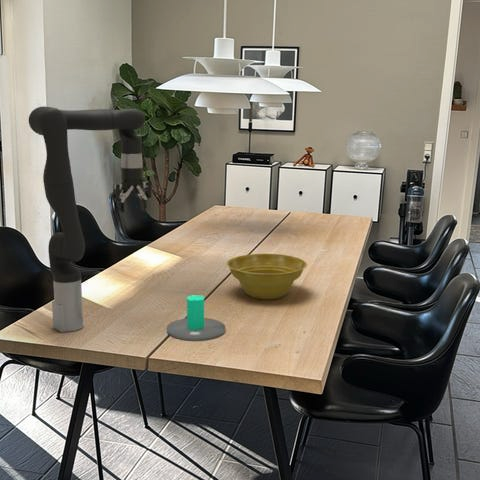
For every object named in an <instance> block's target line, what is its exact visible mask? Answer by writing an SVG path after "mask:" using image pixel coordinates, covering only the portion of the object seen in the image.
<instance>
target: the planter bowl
mask: <svg viewBox="0 0 480 480" xmlns="http://www.w3.org/2000/svg"><path fill="white" fill-rule="evenodd" d="M226 266H227V267H228V268H229V270H230V273H231V275H232V277H234V279H236V280H238V281H239V284H240V286H241V288H242V290H243V291H244V292H245V293H246V294H247V295H248V296H250V297H251V298H254V299H257V300H275V299H280V298H282V297H283V296H285V295H287V293H288V292H289V290H290V289H291V287H292V286H293V284H294V282H295V281H296V280H298V279H299V278H300V277H301V276H302V273H303V271H304V269H306V267H307V266H308V264H307V261H305V260H304V259H302V258H299V257H296V256H292V255H287V254H280V253H250V254H243V255H240V256H239V255H238V256H235V257H232V258H230V259H228V260H227V261H226Z"/></svg>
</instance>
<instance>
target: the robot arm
mask: <svg viewBox="0 0 480 480" xmlns="http://www.w3.org/2000/svg"><path fill="white" fill-rule="evenodd" d="M145 122H146V116H145V114H144V113H143V112H142V111H141V110H139V109H138V108H126V107H125V108H122V109H111V108H104V109H102V108H99V109H98V108H97V109H81V110H80V109H79V110H66V109H64V110H63V109H59V108H56V107H53V106H52V107H51V106H39V107H35V108H34V109H33V110H32V111H31V112H30V114H29V115H28V125H29V128H30V129H31V130H32V132H34V133H36V134H37V135H39V136H42V137H43V140H44V144H45V151H46V159H45V164H44V168H43V174H42V175H43V176H42V179H43V189H44V194H45V199H46V200H47V203H48V204H49V206H50V208H51V209H52V210H53V212H54V213H55V215H56V217H57V218H58V220H59V223H60V225H61V228H62V231H63V232H60V231H59V232H54V233H53V234H52V235H51V237H50V238H49V240H48V241H49V242H48V248H47V249H48V251H47V252H48V261H49V269H50V273H51V275H52V280H53V296H54V297H53V299H54V300H52V301H51V306H52V307H51V308H52V324H53V325H52V326H53V329H55V330H57V331H58V332H59V333H64V332H65V333H66V332H69V333H70V332H75V331H79V330H81V329H83V327H84V316H83V314H84V313H83V293H82V292H83V291H82V272H81V271H80V269H79V268H78V267H77V266H75V265H74V264H73V263H72V262H75V263H77V262H79V261H81V260H82V258H83V257H84V254H85V252H86V251H85V250H86V244H85V238H84V234H83V230H82V227H81V222H80V219H79V218H80V217H79V212H78V208H77V201H76V195H75V188H74V187H75V186H74V179H73V175H72V174H73V173H72V167H71V161H70V155H69V154H70V153H69V145H68V144H69V141H68V138H69V137H68V130H78V131H80V130H81V131H114V130H118V135H119V138H120V143H121V144H120V146H121V154H120V155H121V157H120V172H121V173H120V174H121V175H120V179H121V183H113V189H112V199H113V201H115V202H117V203H118V205H117V206H118V211H119V212H120V214H124V213H125V210H126V209H125V200H126V199H127V198H128V197H129V196H133V195H136V196H137V195H138V197H139V198H140V210H141V211H142V212H145V211H146V209H147V208H148V206H147V201H148V199H151V198H152V185H151V181H148V180H147V181H146V180H144V181H143V179H144V174H143V173H144V171H143V169H144V168H143V166H144V165H143V155H142V149H143V148H142V139H141V138H140V137H139V136H138V135H137V134H136V130H138V129H141V128H142V127H143V126H144V125H145ZM142 188H144V191H143V189H142ZM120 191H121V192H120Z"/></svg>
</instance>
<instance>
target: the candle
mask: <svg viewBox="0 0 480 480" xmlns="http://www.w3.org/2000/svg"><path fill="white" fill-rule="evenodd" d="M196 294H197V293H195V294H193V295H192V294H191V295H188V296H187V297H186V318H187V328H188V329H191V330H200V329H203V328H204V318H205V297H204V296H203V295H202V294H201V295H200V294H197V295H196Z"/></svg>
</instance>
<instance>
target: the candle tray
mask: <svg viewBox="0 0 480 480" xmlns="http://www.w3.org/2000/svg"><path fill="white" fill-rule="evenodd" d="M166 333H167V334H168V335H169V337H172V338H173V339H177V340H182V341H187V342H188V341H190V342H198V341H209V340H214V339H216V338H219V337H222V336H223V335H224V334H225V333H226V324H224V323H223V322H222V321H219V320H217V319H214V318H208V317H204V328H203V329H200V330H191V329H188V328H187V317H186V318H185V317H184V318H180V319H176V320H173V321H171V322H170V323H168V325H167V326H166Z"/></svg>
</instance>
